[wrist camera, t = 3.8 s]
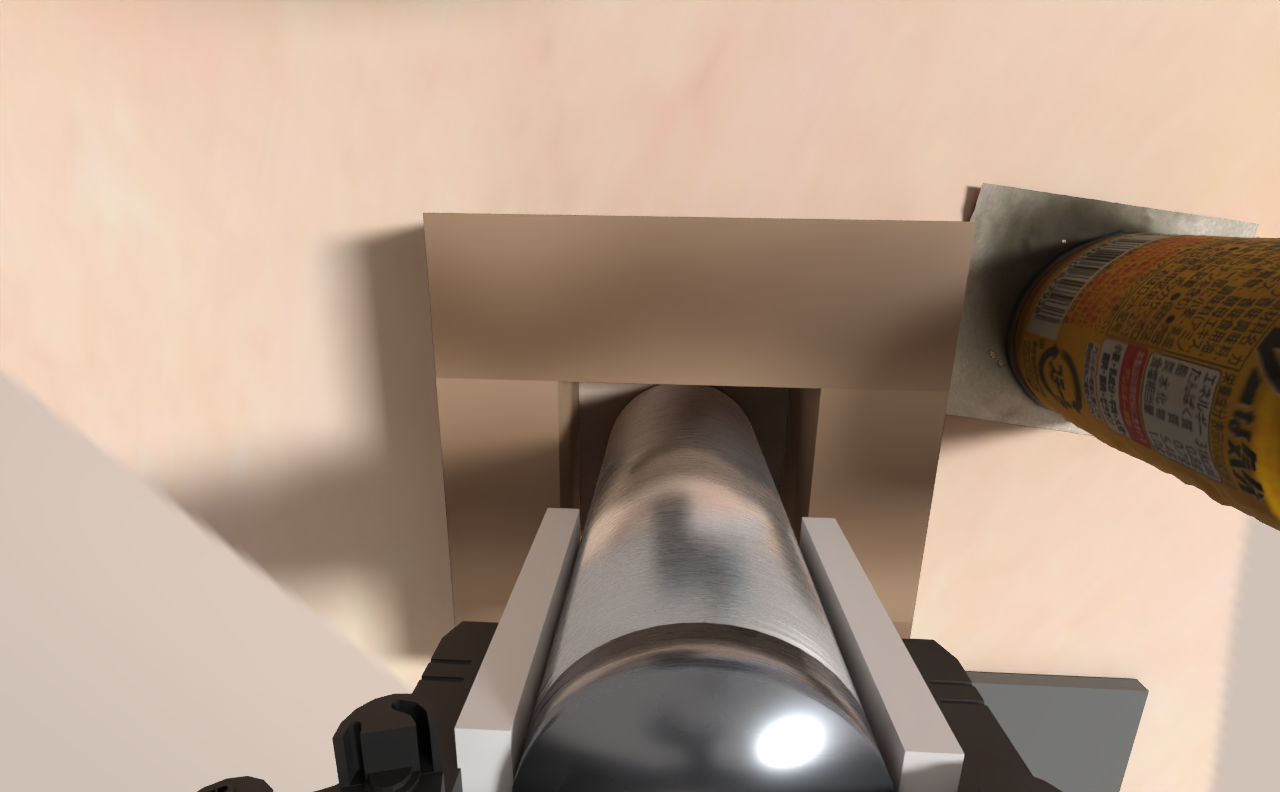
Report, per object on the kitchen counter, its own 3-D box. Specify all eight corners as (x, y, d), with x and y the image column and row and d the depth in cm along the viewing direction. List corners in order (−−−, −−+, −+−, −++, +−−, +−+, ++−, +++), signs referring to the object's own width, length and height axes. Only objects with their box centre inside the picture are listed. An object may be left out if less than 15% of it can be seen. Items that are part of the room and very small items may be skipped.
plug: (608, 379, 21) (499, 664, 8) (762, 383, 21) (929, 684, 7) (608, 517, 22) (515, 962, 9) (751, 522, 22) (875, 986, 9)
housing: (470, 213, 20) (423, 212, 16) (914, 221, 19) (976, 221, 15) (495, 639, 24) (462, 718, 20) (857, 655, 24) (893, 740, 20)
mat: (868, 667, 24) (873, 678, 23) (1136, 679, 23) (1148, 690, 23) (841, 862, 26) (845, 877, 26) (1080, 876, 26) (1089, 891, 26)
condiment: (1162, 445, 21) (1768, 722, 9) (914, 408, 21) (1213, 638, 9) (1252, 223, 19) (2170, 230, 7) (977, 183, 19) (1456, 126, 7)
